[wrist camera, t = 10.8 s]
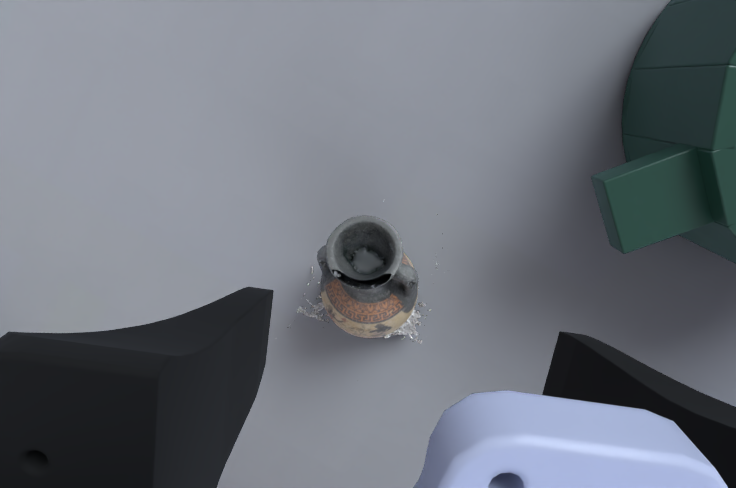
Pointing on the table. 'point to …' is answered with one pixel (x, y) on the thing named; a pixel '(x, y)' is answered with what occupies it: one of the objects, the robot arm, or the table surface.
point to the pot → (678, 135)
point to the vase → (367, 281)
